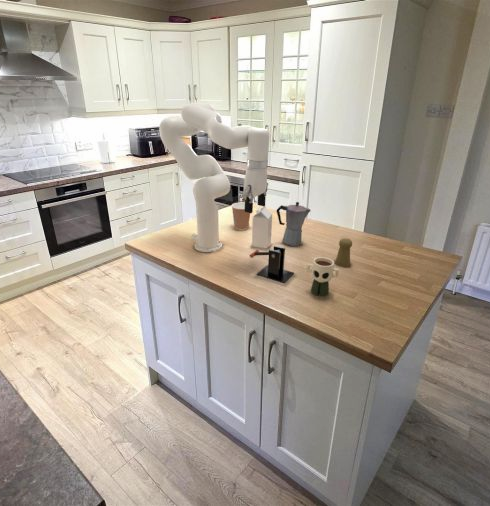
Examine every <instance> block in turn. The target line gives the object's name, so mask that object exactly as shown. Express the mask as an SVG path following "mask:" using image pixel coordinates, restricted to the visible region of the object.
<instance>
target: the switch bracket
mask: <svg viewBox="0 0 490 506" xmlns="http://www.w3.org/2000/svg"><path fill="white" fill-rule="evenodd" d="M274 249H281V252H280V251H276V250H274ZM268 252H269V255H268V259H267V260H268V261H267V262H268V263H267V264H266V265H265V266H264V267H263V268H262V269H261V270H259V271H258V272H257V273H256V276H258V277H260V278H261V277H262V278H264V279H268V280H271V281H275V282H278V283H282V284H286V283H288V281H289V280H290V279H291V278H292V277H293V276H294V275H295V272H294V271H290V270H286V269H285V259H286V258H285V257H286V256H285V255H286V247H284V246H279V245H273V248H272V249H271V248H270V249H269V250H268ZM281 253H282V255H281V256H280V254H281Z"/></svg>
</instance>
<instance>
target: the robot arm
mask: <svg viewBox="0 0 490 506" xmlns="http://www.w3.org/2000/svg"><path fill="white" fill-rule="evenodd" d="M159 123H160V124H159V128H158V129H159V131H158V132H159V137H160V140H161V142H162V144H163V146H164V147H165V148H166V149H167V150H168V152H169V153H170V154H171V155H172V156H173V158H174V160H175V161H176V163H177V164H178V167H180V169H181V170H182V172H183V173H184V175H185V176H186V178H187V179H188V180H192V181H194V180H197V181H195V183H194V184H193V186H192V192H193V197H194V198H193V199H194V201H195V211H196V232H197V233H193V234H192V237H191V241H195V243H194V249H195V250H196V251H198V252H200V253H201V252H202V253H213V252H214V251H218V250H219V249H221V248H222V247H223V243H222V242H221V241H220V240H219V239H220V233H219V232H220V231H219V230H220V229H219V226H220V225H219V208H218V205H217V203H216V201H215V200H216V199H218V198H221V197H224V196H226V195H228V194H229V193H230V191H231V183H230V180H229V177H228V176H227V175H226V173H225V171H224V169H223V168H222V167H221V165H220V164H219V162H218V161H217V160H216V158H214V157H213V156H212V155H210V154H200V155H198V154H197V153H196V152H195V151H194V149H193V148H192V146H191V145H190V144H189V143H188V142H187V141H185V140H183V139H182V138H184V137H192V136H195V135H197V134H199V133H200V132H203V133H206V134H207V136H208V138H209V139H210V140H211V141H212V142H213V143H214V144H216V145H218V146H220V147H222V148H224V149H228V150H236V149H241V148H242V149H243V148H247V155H246V157H247V159H246V170H245V174H244V182H243V191H242V199H243V202H244V203H245V212H248V213H250V214H253V212H254V210H253V209H254V202H253V200H254V198H256V197H257V206H260V207H263V206H265V207H266V197H267V193H268V192H267V191H268V187H269V182H268V165H269V164H268V163H269V150H270V149H269V148H270V130H268V128H267V129H266V128H261V127H254V126H252V125H248V124H247V125H245V124H244V125H237V126H236V125H235V126H228V125H225V124H224V123H223V120H222V116H221V114H220V113H219V112H218V111H216V108H214V106H213V104H211V103H210V102H207V101H199V102H195V101H194V102H193V101H192V102H189V103H186V104H185V105H184V106H183V107H182V109H181V112H180V115H171V116H168V117H165V118H163V119H162V120H161V121H160V122H159Z"/></svg>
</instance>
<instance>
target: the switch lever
mask: <svg viewBox="0 0 490 506" xmlns="http://www.w3.org/2000/svg"><path fill="white" fill-rule="evenodd" d="M273 250H276V251H280V252H281V249H274V248H273ZM281 255H282V253H281V254H280V256H281ZM255 256H269V251H260V250H259V249H256V250H254V251H253V252H252V253H250V254H249V258H250V259H253V258H254V257H255Z"/></svg>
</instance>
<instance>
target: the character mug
mask: <svg viewBox="0 0 490 506" xmlns="http://www.w3.org/2000/svg"><path fill="white" fill-rule="evenodd" d="M310 268H312V269H310ZM306 272H307V273H310V274H311V277H312V279H313V281H312V284H311V288H310V293H311V294H312V295H314V296H315V297H318V296H319V298H320V297H321V298H322V297H327V296H329V293H330V283H329V282H330V281H331V280H332V279H333V278H338V277H339V273H340V269H339V268H336V267H335V261H334V260H333V259H331V258H329V257H323V256H318V257H315V258H314V259H313V261H312V263H307V264H306ZM334 272H335V273H334Z"/></svg>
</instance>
